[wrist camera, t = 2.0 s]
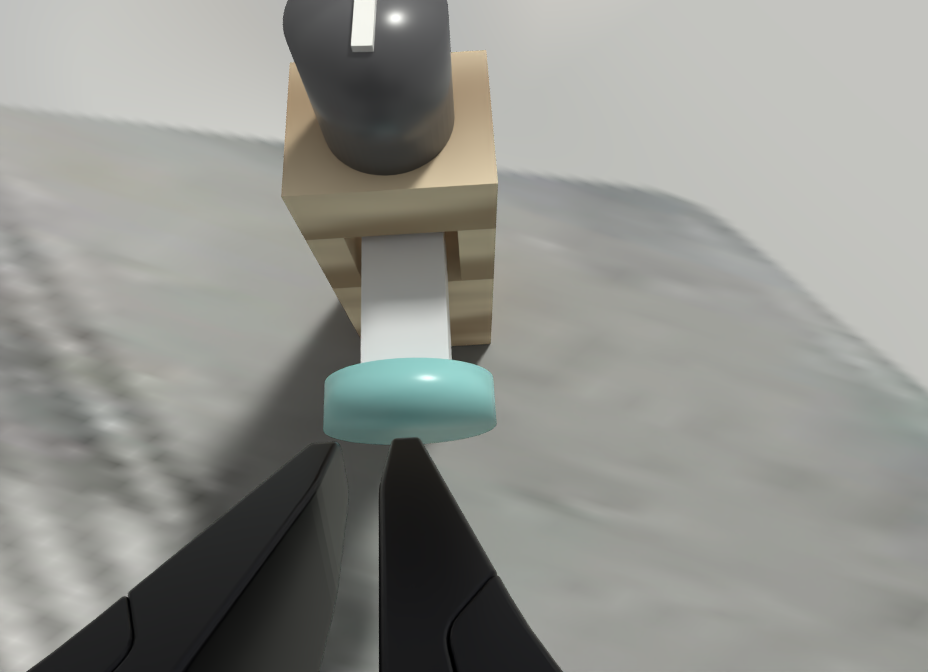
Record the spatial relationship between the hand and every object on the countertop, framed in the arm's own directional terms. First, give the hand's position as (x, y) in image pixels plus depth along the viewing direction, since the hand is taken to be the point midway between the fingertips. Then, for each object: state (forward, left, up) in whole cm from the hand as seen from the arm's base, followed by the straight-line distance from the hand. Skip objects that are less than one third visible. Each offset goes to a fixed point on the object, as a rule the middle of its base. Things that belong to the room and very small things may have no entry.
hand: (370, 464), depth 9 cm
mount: (+9, -1, -14) cm, 16 cm away
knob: (+5, -1, -8) cm, 10 cm away
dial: (+9, -1, -2) cm, 9 cm away
